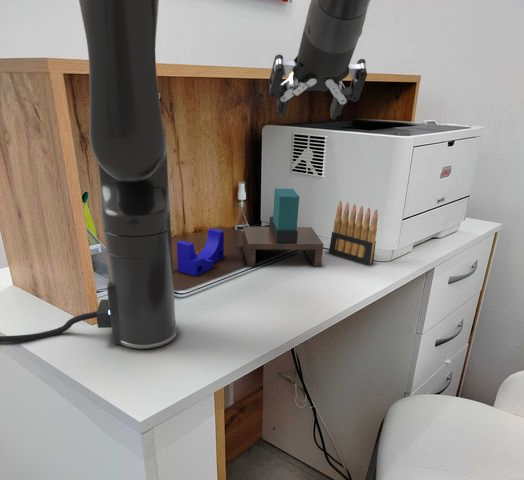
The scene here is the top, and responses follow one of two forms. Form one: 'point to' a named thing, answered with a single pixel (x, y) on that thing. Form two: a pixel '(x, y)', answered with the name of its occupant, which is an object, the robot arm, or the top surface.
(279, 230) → the teal block on base
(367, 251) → the ammunition clip
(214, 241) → the blue u-shaped cradle
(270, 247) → the walnut shelf
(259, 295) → the top surface
